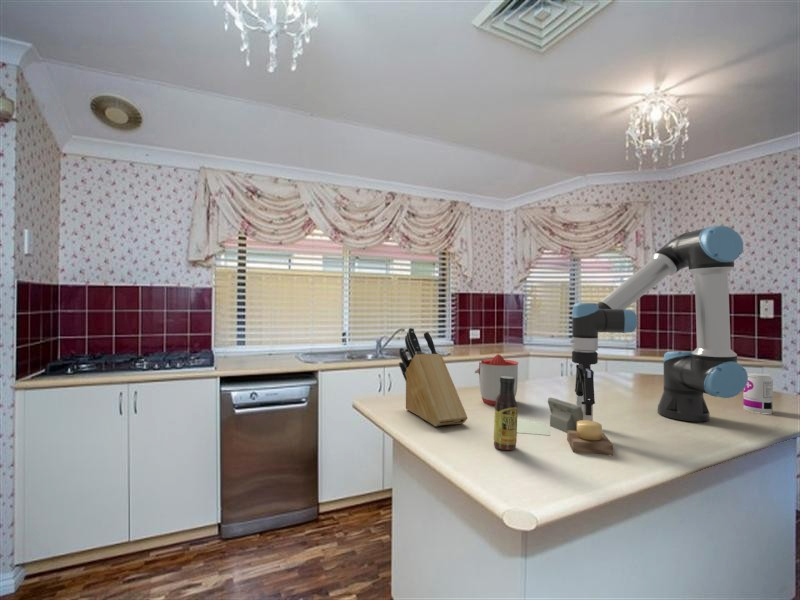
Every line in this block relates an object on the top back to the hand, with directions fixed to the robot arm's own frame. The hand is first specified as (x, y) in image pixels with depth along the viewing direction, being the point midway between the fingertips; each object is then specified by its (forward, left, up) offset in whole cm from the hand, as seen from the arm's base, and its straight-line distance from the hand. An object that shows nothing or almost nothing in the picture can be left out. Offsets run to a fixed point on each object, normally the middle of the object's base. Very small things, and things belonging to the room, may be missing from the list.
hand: (583, 420), depth 128 cm
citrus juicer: (+28, -28, -4) cm, 40 cm away
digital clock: (+5, 0, -4) cm, 6 cm away
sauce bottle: (+25, +22, -4) cm, 33 cm away
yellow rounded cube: (+2, +16, 0) cm, 16 cm away
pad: (+18, 0, -3) cm, 18 cm away
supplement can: (-67, -38, -4) cm, 77 cm away
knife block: (+51, -5, -4) cm, 52 cm away
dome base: (+2, +16, -3) cm, 16 cm away
